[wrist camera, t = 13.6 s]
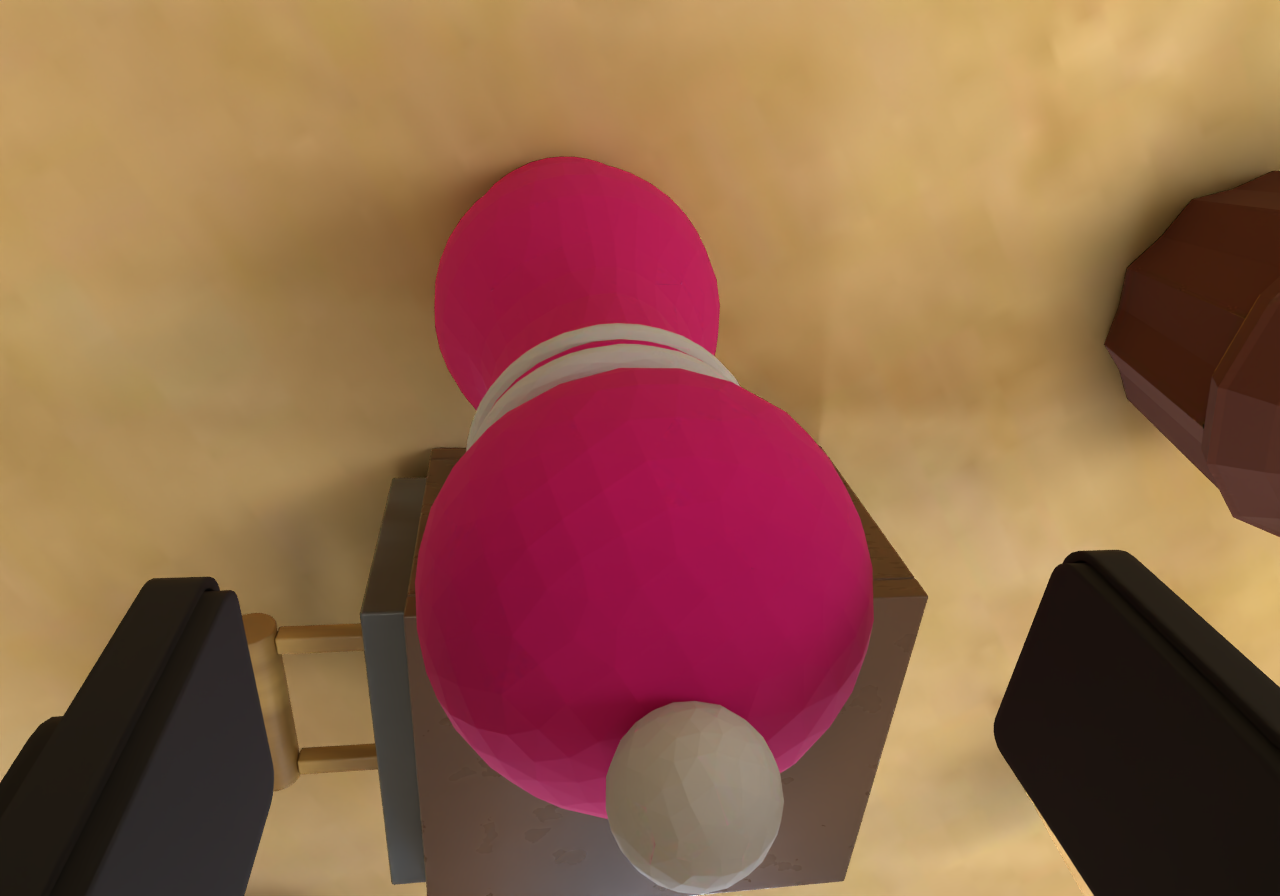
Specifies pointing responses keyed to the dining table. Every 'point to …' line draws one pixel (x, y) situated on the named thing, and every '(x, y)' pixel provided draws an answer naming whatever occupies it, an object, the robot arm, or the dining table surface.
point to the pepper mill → (629, 532)
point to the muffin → (1212, 342)
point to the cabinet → (583, 844)
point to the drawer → (385, 682)
